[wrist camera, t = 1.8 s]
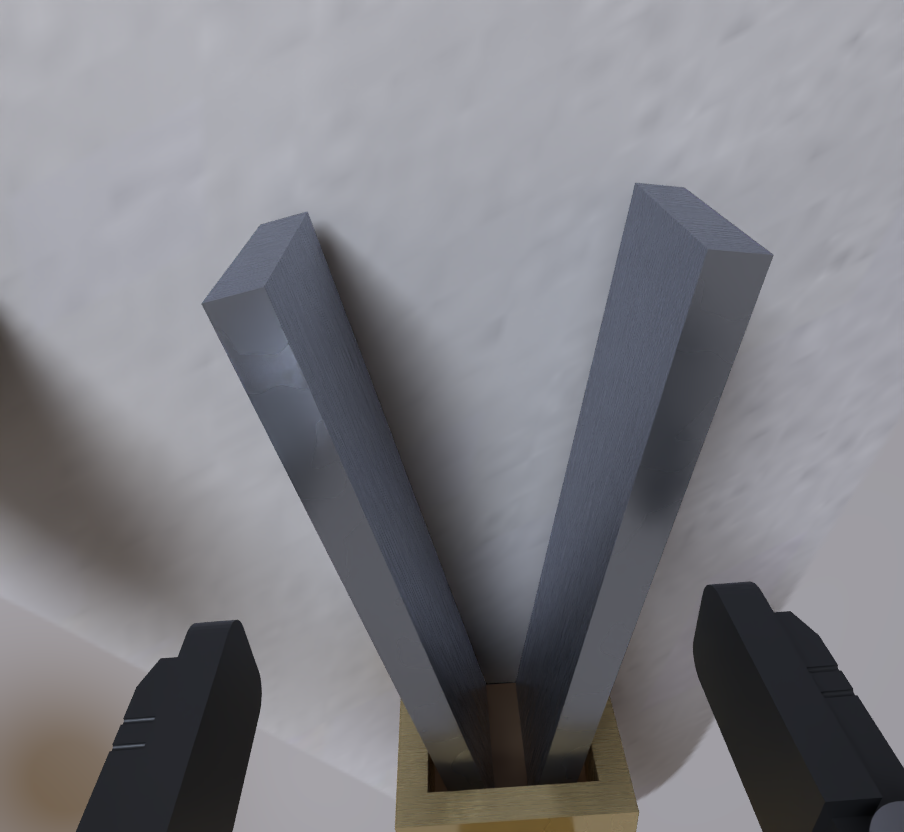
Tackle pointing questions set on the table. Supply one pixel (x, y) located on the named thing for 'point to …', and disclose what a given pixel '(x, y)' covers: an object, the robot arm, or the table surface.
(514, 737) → the block
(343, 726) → the table surface
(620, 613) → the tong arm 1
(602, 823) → the collar
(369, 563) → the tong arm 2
